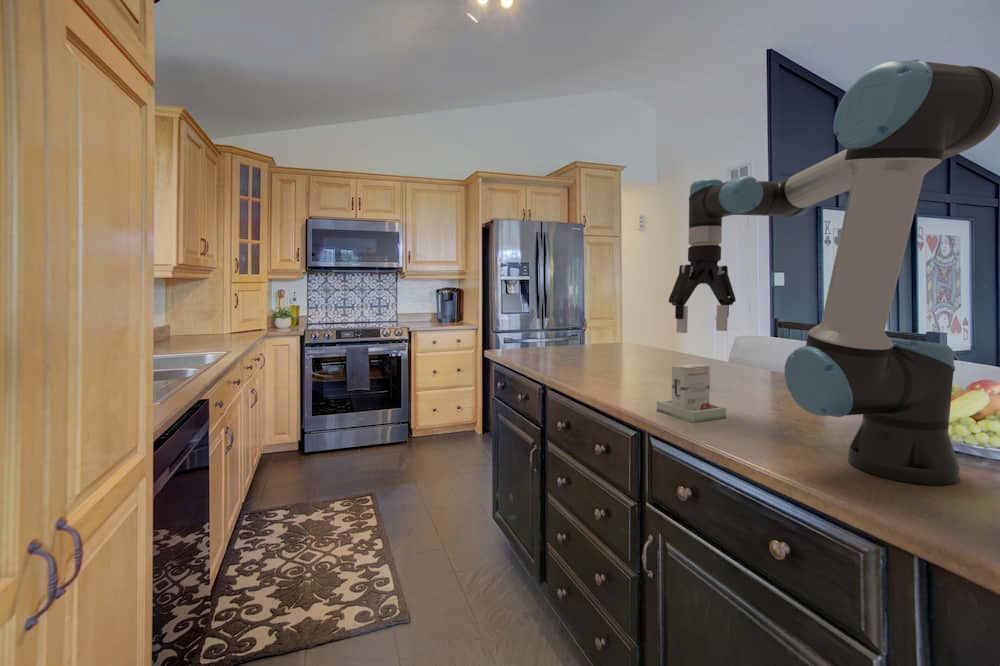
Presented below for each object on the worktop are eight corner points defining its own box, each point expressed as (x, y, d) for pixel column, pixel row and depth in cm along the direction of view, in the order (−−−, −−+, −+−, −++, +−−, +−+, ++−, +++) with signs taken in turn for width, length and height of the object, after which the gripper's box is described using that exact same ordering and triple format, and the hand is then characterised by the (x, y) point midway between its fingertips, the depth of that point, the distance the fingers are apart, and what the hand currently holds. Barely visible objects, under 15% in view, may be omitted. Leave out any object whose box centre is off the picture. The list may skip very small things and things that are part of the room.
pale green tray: (725, 417, 121) (726, 407, 121) (693, 422, 117) (693, 412, 117) (687, 406, 133) (687, 397, 133) (656, 410, 128) (656, 401, 128)
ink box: (694, 407, 129) (695, 363, 128) (710, 412, 124) (711, 365, 123) (669, 411, 125) (671, 365, 124) (685, 416, 121) (686, 368, 120)
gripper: (727, 248, 129) (725, 329, 131) (654, 245, 119) (652, 332, 120) (752, 246, 122) (749, 330, 124) (677, 242, 112) (675, 334, 113)
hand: (702, 331), depth 122 cm, fingers open, 13 cm apart
